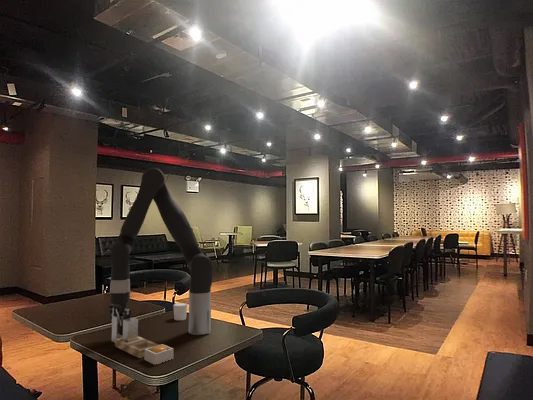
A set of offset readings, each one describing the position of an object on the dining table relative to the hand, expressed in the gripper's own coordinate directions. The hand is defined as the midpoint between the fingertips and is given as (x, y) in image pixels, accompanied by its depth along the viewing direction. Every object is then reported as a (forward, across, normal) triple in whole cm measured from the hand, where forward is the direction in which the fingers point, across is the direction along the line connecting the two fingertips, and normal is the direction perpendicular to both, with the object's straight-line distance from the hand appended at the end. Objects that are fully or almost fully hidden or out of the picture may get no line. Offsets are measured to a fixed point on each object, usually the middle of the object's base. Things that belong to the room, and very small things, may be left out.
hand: (118, 332), depth 141 cm
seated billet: (+3, +9, 0) cm, 10 cm away
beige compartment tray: (+3, +14, 0) cm, 14 cm away
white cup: (+3, -9, +35) cm, 37 cm away
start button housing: (+3, +29, 0) cm, 29 cm away
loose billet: (+3, 0, 0) cm, 3 cm away
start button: (+2, +29, 0) cm, 29 cm away
